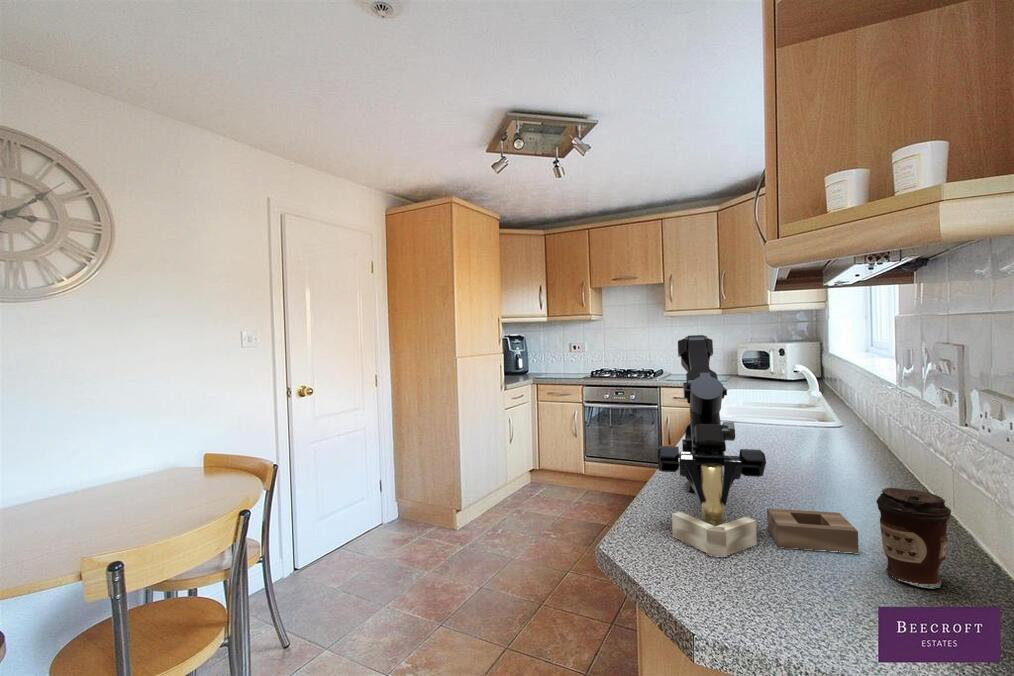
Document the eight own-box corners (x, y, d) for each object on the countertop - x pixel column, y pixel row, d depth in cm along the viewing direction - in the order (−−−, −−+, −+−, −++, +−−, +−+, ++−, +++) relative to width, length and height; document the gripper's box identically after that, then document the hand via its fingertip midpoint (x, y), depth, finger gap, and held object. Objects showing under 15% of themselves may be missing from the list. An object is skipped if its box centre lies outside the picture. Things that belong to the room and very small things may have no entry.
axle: (709, 530, 89) (706, 461, 89) (728, 536, 86) (725, 465, 86) (699, 536, 87) (696, 466, 86) (718, 542, 84) (716, 470, 83)
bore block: (767, 528, 90) (766, 508, 90) (840, 534, 87) (839, 512, 87) (778, 547, 83) (778, 525, 83) (858, 554, 79) (858, 531, 79)
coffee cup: (923, 599, 66) (920, 508, 66) (864, 571, 74) (861, 489, 74) (966, 588, 68) (964, 499, 68) (904, 561, 76) (902, 482, 76)
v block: (672, 534, 90) (671, 510, 90) (755, 542, 85) (754, 517, 85) (673, 552, 83) (672, 527, 83) (763, 562, 78) (762, 535, 78)
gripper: (656, 405, 92) (657, 479, 82) (762, 406, 87) (777, 486, 76) (658, 435, 100) (659, 506, 90) (755, 438, 94) (769, 515, 84)
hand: (713, 503), depth 85 cm, fingers closed on axle, 3 cm apart
